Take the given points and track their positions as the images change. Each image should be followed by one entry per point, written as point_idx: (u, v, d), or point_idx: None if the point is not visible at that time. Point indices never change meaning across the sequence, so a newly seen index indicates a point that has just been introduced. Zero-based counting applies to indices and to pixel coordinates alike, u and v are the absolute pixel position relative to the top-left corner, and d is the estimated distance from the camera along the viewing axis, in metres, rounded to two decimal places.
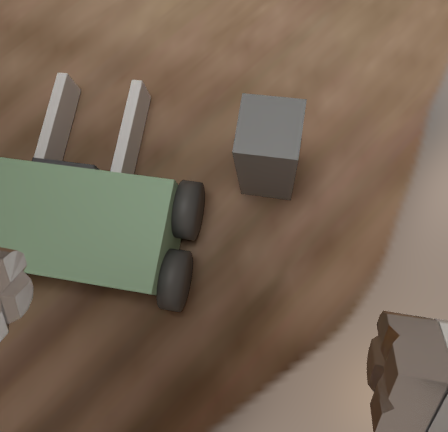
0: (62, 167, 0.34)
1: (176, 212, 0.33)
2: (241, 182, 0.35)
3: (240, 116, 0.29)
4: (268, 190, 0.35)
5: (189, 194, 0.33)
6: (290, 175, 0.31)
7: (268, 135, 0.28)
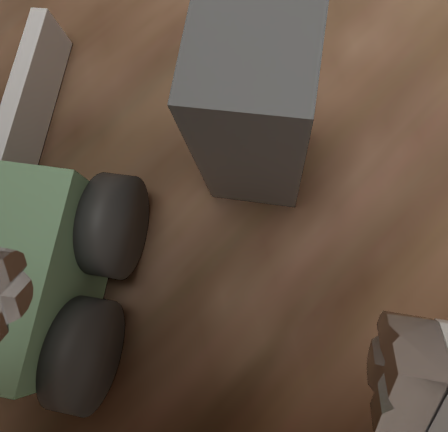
0: None
1: (81, 231, 0.18)
2: (206, 176, 0.19)
3: (187, 30, 0.13)
4: (256, 190, 0.20)
5: (107, 197, 0.18)
6: (295, 158, 0.15)
7: (245, 68, 0.13)
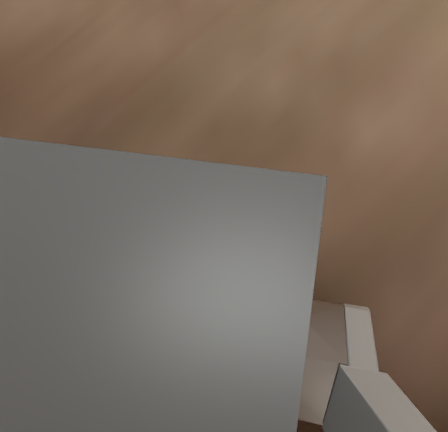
0: None
1: None
2: None
3: None
4: None
5: None
6: None
7: (88, 408, 0.05)
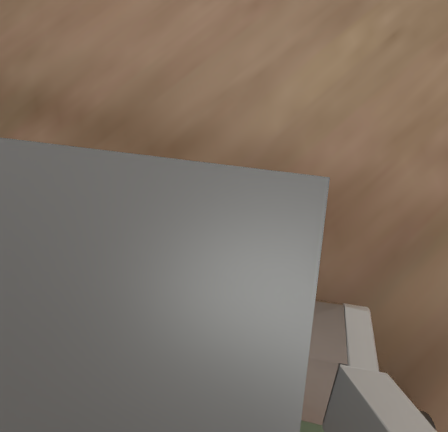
0: None
1: None
2: None
3: None
4: None
5: None
6: None
7: (90, 409, 0.05)
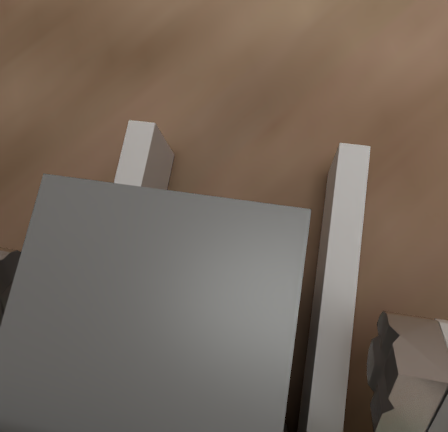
0: None
1: None
2: None
3: (21, 279, 0.07)
4: None
5: None
6: None
7: (129, 386, 0.06)
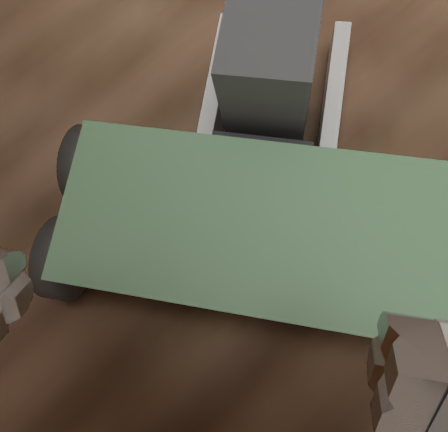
0: (270, 144, 0.22)
1: None
2: None
3: (223, 21, 0.19)
4: None
5: None
6: (299, 117, 0.21)
7: (265, 48, 0.18)
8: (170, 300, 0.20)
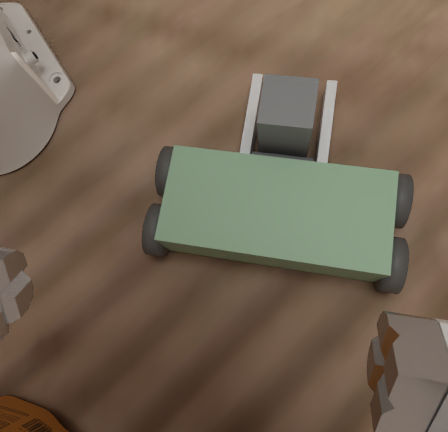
0: (287, 160, 0.37)
1: (397, 201, 0.36)
2: None
3: (263, 93, 0.34)
4: None
5: (408, 185, 0.36)
6: (305, 144, 0.36)
7: (286, 109, 0.33)
8: (231, 250, 0.35)
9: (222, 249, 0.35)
